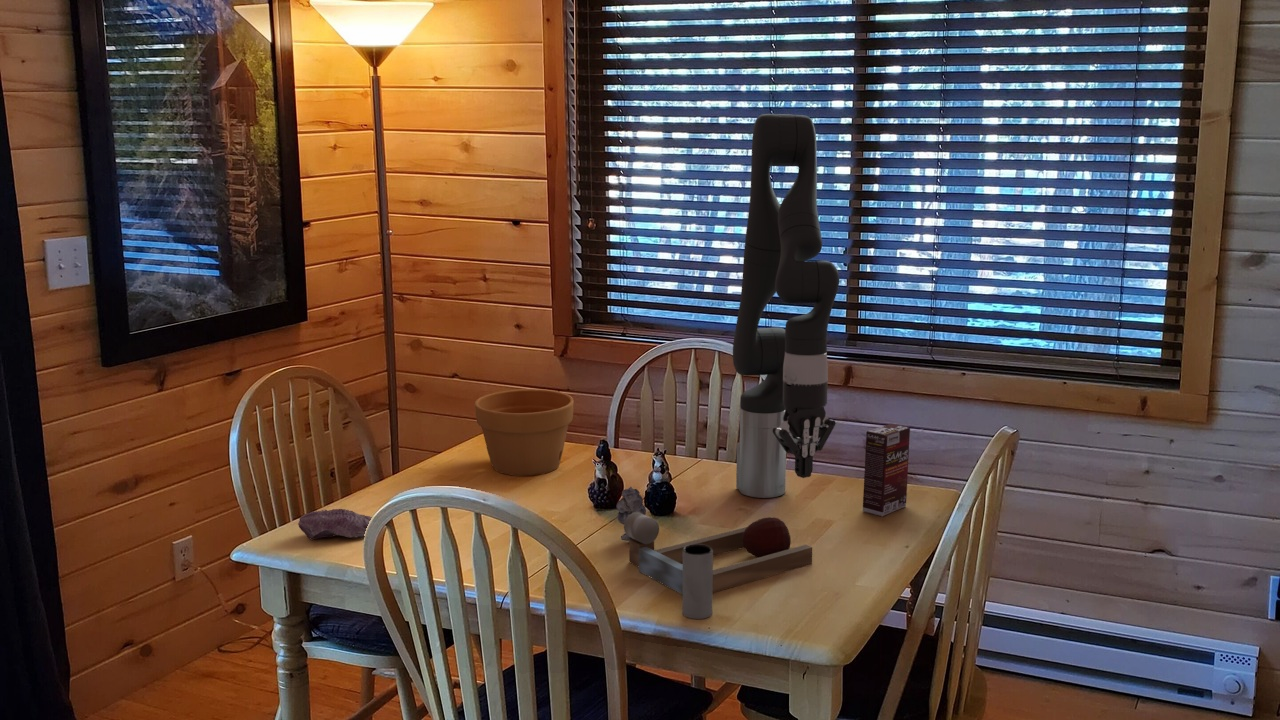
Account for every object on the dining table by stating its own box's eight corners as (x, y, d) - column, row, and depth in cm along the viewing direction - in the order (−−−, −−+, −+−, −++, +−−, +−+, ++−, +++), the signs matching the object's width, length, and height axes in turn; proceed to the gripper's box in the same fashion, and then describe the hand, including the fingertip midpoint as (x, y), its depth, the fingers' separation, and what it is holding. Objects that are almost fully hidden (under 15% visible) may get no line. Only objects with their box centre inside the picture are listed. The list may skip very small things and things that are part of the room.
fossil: (297, 534, 217) (296, 506, 216) (376, 526, 221) (375, 499, 220) (299, 548, 209) (298, 519, 208) (381, 539, 214) (380, 512, 213)
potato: (735, 551, 207) (736, 513, 205) (782, 547, 208) (782, 509, 207) (749, 567, 200) (750, 527, 198) (797, 562, 201) (798, 523, 200)
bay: (622, 562, 202) (621, 515, 200) (739, 532, 216) (740, 488, 214) (690, 599, 186) (690, 548, 185) (811, 564, 200) (813, 516, 199)
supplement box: (883, 517, 224) (886, 435, 220) (861, 511, 227) (864, 431, 224) (908, 506, 230) (911, 426, 227) (886, 501, 233) (889, 422, 230)
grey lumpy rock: (633, 547, 209) (632, 493, 207) (611, 540, 212) (610, 486, 210) (653, 540, 212) (653, 486, 210) (632, 533, 216) (631, 480, 214)
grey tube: (708, 606, 183) (709, 542, 181) (715, 618, 179) (715, 553, 177) (679, 608, 183) (680, 544, 181) (685, 620, 178) (685, 555, 176)
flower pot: (557, 484, 245) (556, 414, 242) (461, 477, 250) (459, 409, 247) (586, 456, 265) (585, 391, 262) (496, 450, 270) (495, 386, 267)
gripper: (818, 370, 209) (816, 465, 212) (761, 379, 202) (760, 478, 205) (849, 377, 203) (846, 475, 206) (791, 386, 196) (789, 488, 199)
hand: (803, 476), depth 206 cm, fingers closed
